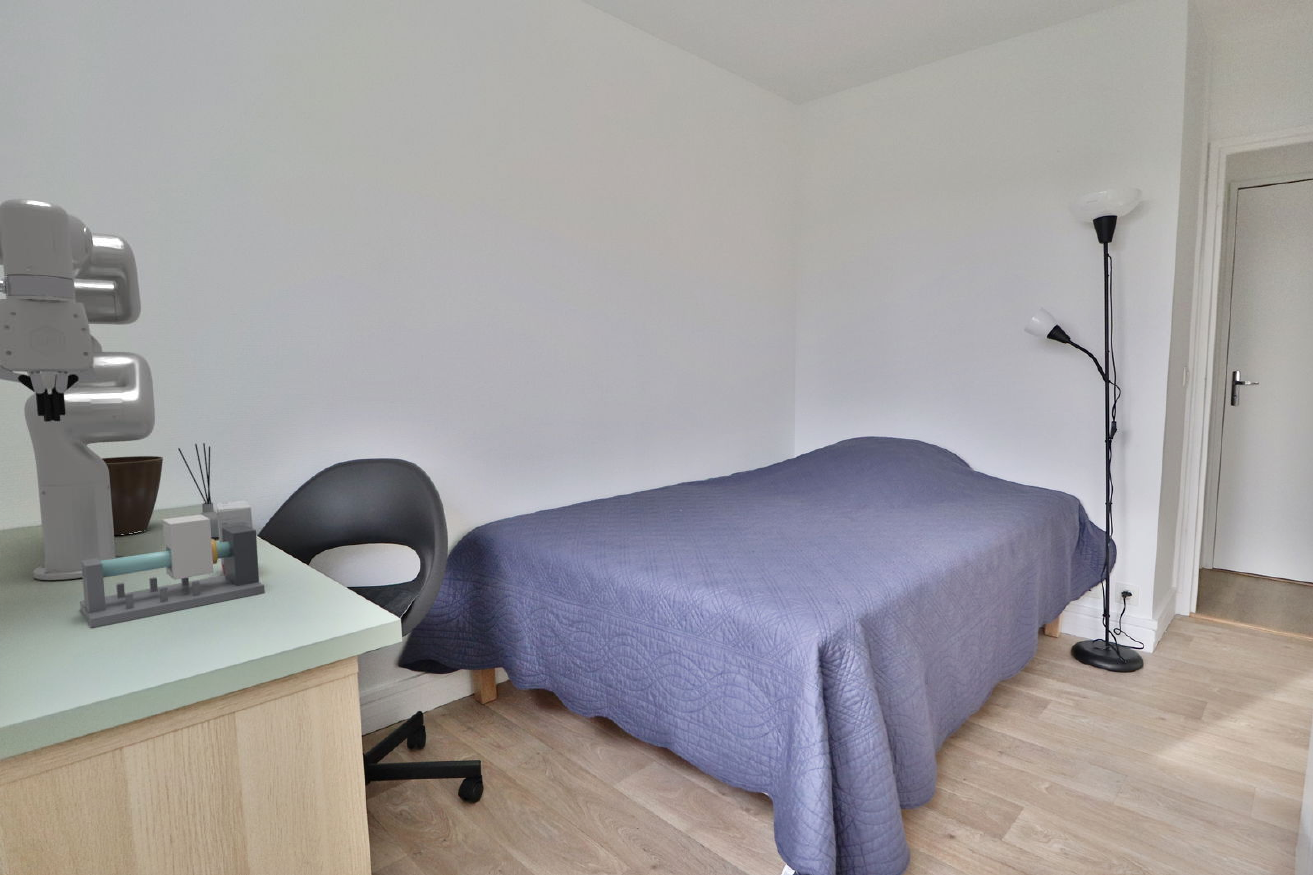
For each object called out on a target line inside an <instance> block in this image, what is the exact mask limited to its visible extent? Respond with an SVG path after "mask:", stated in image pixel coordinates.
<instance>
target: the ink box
mask: <svg viewBox="0 0 1313 875" xmlns="http://www.w3.org/2000/svg"><path fill="white" fill-rule="evenodd" d="M215 505H216V513H217V518H218V532H219V536H218V543H220V542H223V538H222V528H225V527H232V526H239V525H246V526H248V527H250V528H252V529H254V526H253V525H254V524H253V517H252V516H253V515H252V506H251V505H250V502H249V501H248V500H238V501H228V502H226V501H225V502H218V503H216V504H215ZM220 561H221V570H222V573H223V575H225V568H224V558H220Z"/></svg>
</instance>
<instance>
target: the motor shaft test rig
mask: <svg viewBox="0 0 1313 875" xmlns="http://www.w3.org/2000/svg"><path fill="white" fill-rule="evenodd" d="M222 538H223V542H220V543H219V542H216V541H215V538H211V542H212V556H213V565H215V564H217V563H218V561H219V559H221V558H224V568H225V575H224V574H223V575H218V576H213V577H207V578H202V579H201V578H200V579H196V580H190V581H189V577H188V578H182V579H180V583H179V582H178V583H174V584H168V585H167V584H166V585H162V586H158V578H157V577H156V576H155V577H149V580H148V581H149V588H145V589H141V590H135V591H131V592H130V591H129V592H126V591H125V583H124V582H119V583H116V584H115V585H116V586H115V587H116V594H113V595H107V596H106V595H105V594H106V593H105V582H104V581H105V580H104V578H109V577H116V576H122V575H127V574H128V575H129V574H134V573H140V572H145V571H152V570H158V569H164V568H165V569H166V567H171V566H172V563H171V550H168V551H165V550H163V551H162V550H161V551H155V552H150V553H149V552H148V553H142V554H135V555H130V556H123V557H122V558H115V559H109V560H102V561H99V560H98V558H96V559H89V560H83V561H81V565H82V588H83V600H80V601H79V606H80V610H81V613H82V614H83V616H84V617H85V619H86V620H87V622H88V624H89V626H90V627H91V628H99V627H103V626H107V625H108V626H109V625H112V624H113V625H114V624H118V623H123V622H128V621H133V620H138V619H142V618H147V617H153V616H157V615H162V614H167V613H172V612H178V611H181V610H187V609H191V608H197V607H201V606H206V605H211V604H217V603H221V602H225V601H231V600H236V599H241V598H246V597H251V596H255V595H260V594H265V584H263V583H261V582H260V575H259V574H260V573H259V558H258V540H257V530H256V529H254V528H253V529H252V528H250V527H248V526H246V525H239V526H232V527H225V528H222Z"/></svg>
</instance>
